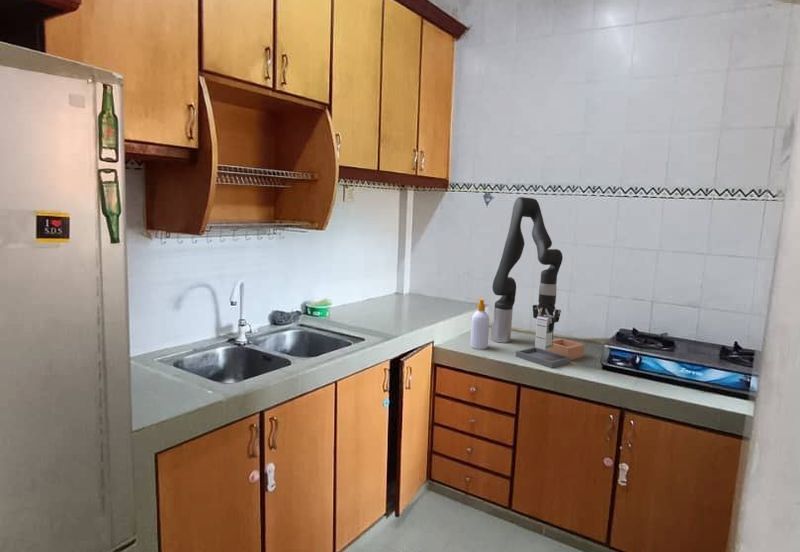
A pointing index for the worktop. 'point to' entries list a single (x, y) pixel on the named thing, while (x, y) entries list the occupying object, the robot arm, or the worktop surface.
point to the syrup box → (543, 333)
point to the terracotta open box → (567, 348)
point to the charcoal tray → (543, 357)
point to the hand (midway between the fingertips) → (544, 329)
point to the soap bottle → (480, 327)
